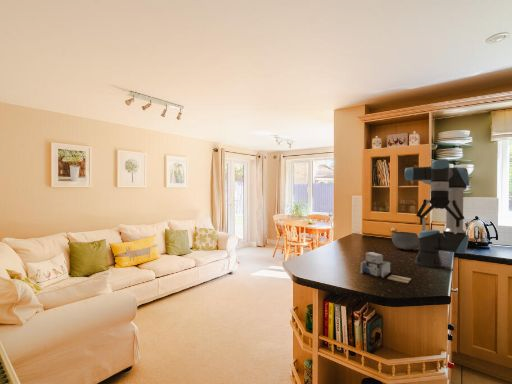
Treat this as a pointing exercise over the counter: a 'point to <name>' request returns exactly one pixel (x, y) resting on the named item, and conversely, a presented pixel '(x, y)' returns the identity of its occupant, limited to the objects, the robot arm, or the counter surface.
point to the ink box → (374, 263)
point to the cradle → (384, 270)
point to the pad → (399, 278)
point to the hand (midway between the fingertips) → (438, 232)
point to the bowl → (405, 240)
